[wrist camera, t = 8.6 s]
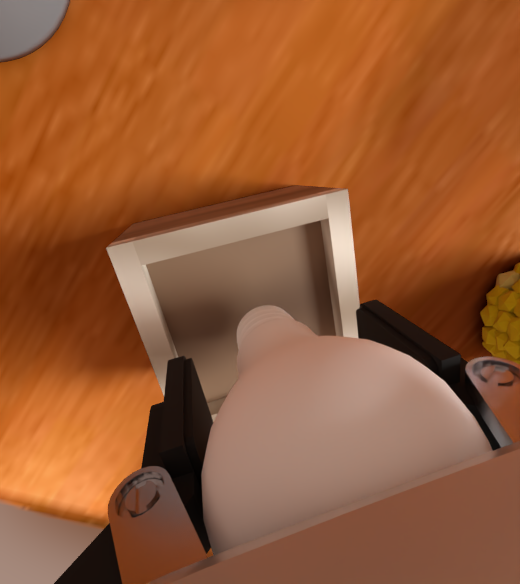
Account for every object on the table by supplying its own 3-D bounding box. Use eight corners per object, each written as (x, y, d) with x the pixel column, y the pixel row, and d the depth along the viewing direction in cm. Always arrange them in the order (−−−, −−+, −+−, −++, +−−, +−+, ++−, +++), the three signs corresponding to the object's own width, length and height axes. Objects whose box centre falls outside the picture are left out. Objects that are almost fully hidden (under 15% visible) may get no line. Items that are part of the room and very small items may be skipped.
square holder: (132, 223, 19) (105, 247, 12) (295, 185, 20) (347, 188, 14) (182, 366, 23) (181, 442, 16) (317, 326, 24) (367, 381, 17)
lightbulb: (234, 232, 13) (413, 428, 3) (349, 294, 15) (684, 533, 5) (167, 356, 14) (129, 811, 4) (282, 398, 16) (447, 764, 6)
